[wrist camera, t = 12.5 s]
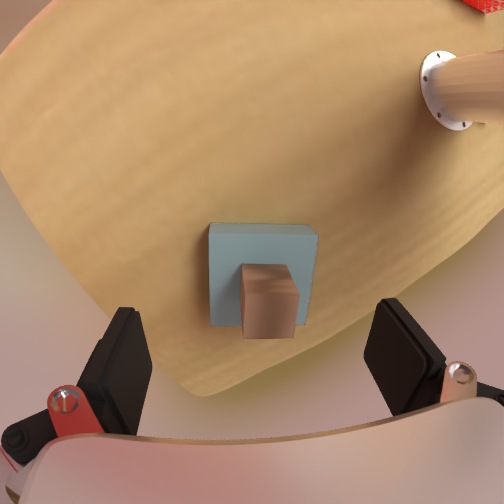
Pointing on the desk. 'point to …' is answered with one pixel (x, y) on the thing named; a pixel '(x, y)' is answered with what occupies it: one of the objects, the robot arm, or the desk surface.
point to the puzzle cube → (486, 5)
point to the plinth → (257, 252)
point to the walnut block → (268, 301)
